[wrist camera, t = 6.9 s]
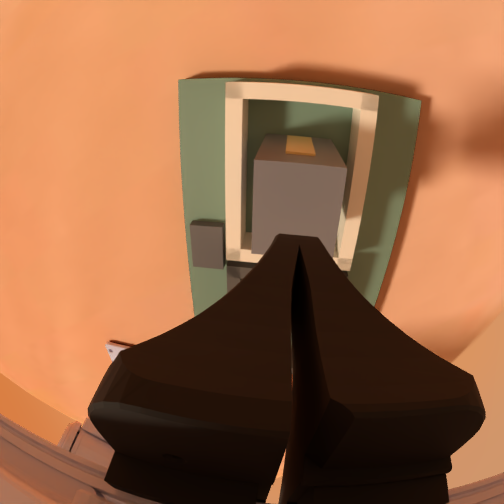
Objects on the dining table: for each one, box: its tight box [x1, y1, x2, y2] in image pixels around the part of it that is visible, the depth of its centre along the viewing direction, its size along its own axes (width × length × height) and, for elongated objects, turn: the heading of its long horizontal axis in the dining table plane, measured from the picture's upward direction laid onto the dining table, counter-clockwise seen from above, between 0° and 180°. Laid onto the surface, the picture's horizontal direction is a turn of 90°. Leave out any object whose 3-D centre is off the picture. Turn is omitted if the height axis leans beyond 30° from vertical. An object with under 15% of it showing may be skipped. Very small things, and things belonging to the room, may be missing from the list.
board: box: [178, 78, 421, 374], centre depth 19 cm, size 20×13×3 cm, turn 178°
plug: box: [251, 134, 347, 258], centre depth 14 cm, size 4×3×6 cm
